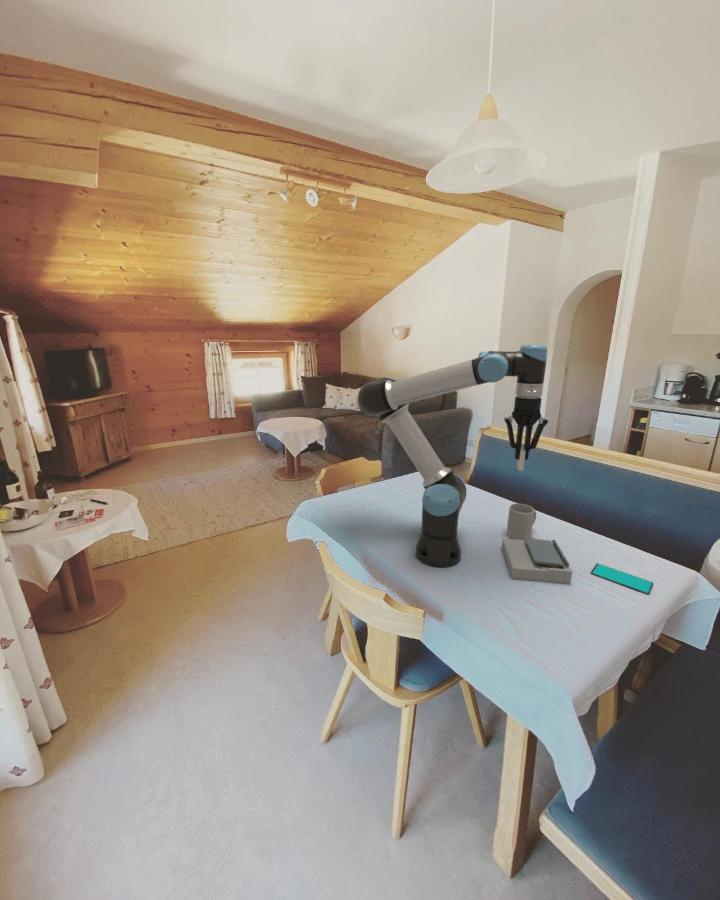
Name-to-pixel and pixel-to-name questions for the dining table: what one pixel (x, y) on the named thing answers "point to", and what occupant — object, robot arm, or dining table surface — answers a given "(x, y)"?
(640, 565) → the dining table surface
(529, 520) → the mug
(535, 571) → the hinged lid box
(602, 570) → the smartphone
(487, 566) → the dining table surface
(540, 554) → the cover
